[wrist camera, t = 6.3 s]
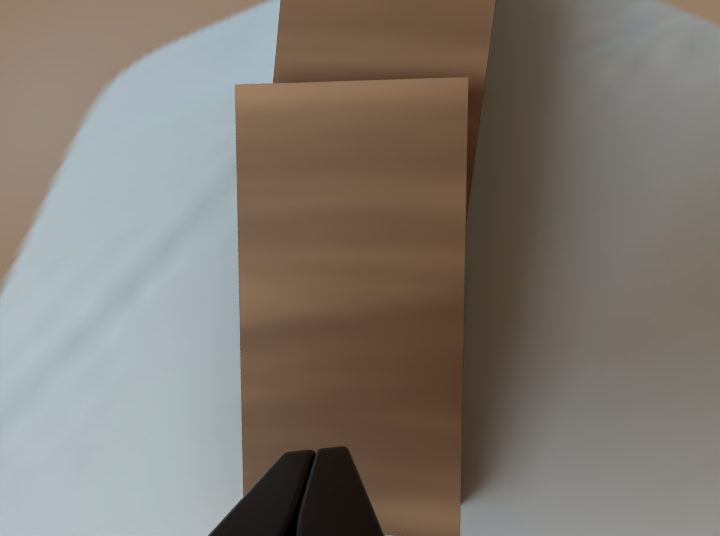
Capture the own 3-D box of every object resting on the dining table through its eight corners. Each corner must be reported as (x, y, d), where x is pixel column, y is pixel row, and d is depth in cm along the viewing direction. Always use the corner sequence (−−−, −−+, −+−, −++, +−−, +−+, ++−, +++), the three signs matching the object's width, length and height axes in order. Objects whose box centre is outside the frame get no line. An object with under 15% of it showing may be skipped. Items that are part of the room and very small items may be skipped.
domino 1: (444, 385, 15) (501, -47, 14) (248, 354, 16) (285, -58, 14) (445, 368, 17) (498, -21, 15) (267, 340, 17) (303, -33, 16)
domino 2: (459, 541, 14) (468, 76, 13) (244, 521, 14) (234, 84, 13) (460, 506, 15) (467, 91, 14) (265, 490, 16) (259, 97, 15)
